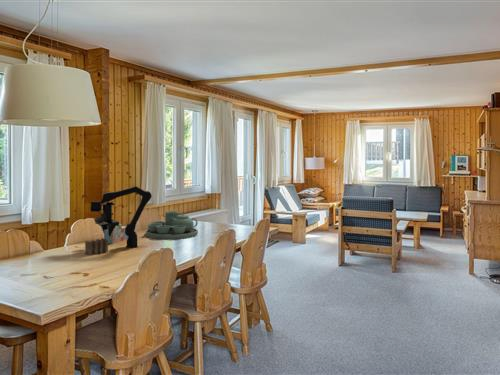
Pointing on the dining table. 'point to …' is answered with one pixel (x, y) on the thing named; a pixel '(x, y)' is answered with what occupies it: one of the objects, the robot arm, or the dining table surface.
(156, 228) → the tea set
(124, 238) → the stack of blocks
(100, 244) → the domino
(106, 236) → the end domino
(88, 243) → the domino
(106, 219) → the robot arm
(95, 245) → the domino
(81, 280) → the dining table surface
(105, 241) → the domino
